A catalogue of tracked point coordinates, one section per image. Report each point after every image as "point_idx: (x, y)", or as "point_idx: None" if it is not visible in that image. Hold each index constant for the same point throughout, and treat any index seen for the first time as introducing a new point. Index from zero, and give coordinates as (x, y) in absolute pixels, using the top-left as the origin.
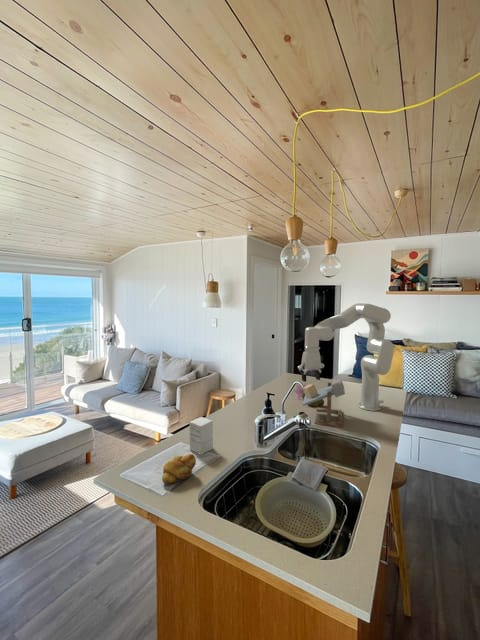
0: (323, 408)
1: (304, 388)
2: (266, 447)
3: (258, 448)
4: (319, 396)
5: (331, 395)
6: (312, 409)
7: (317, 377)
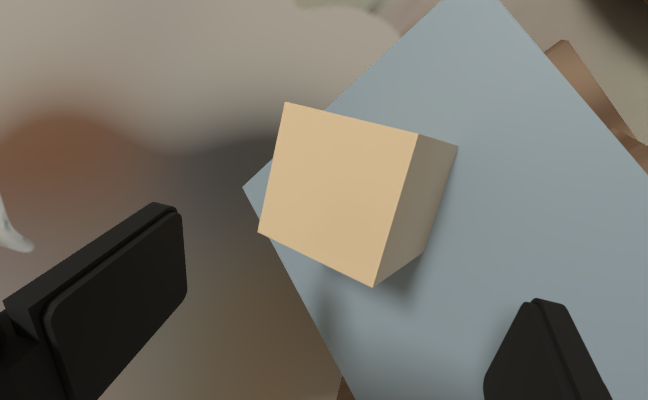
0: (591, 98)
1: (273, 165)
2: (33, 245)
3: (8, 234)
4: (352, 310)
5: None
6: (526, 18)
7: (510, 387)
